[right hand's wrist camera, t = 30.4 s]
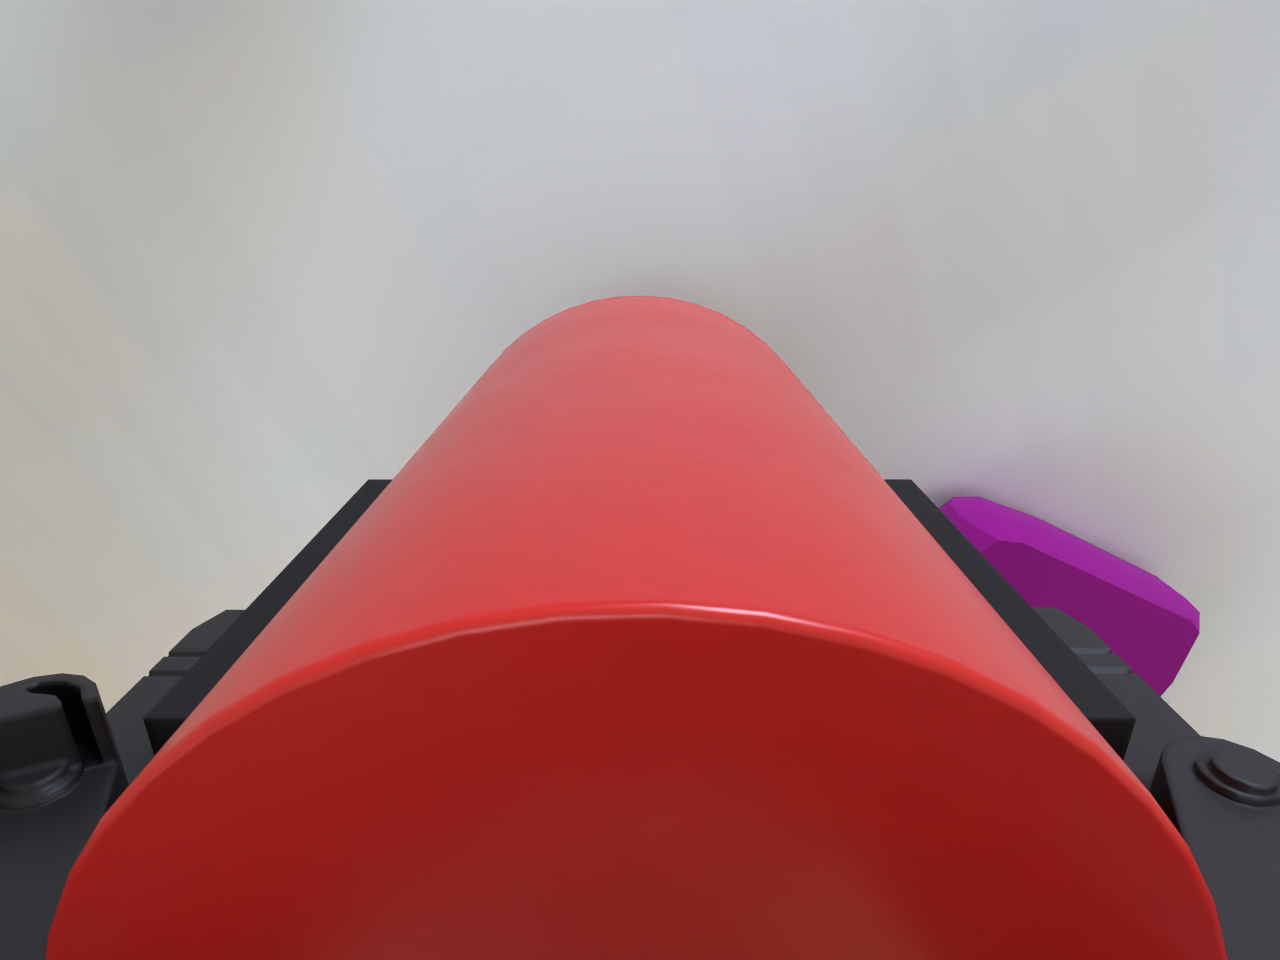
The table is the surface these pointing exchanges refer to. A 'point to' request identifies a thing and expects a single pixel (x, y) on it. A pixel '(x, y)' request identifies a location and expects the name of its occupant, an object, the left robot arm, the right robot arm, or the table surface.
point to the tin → (636, 710)
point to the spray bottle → (1084, 586)
